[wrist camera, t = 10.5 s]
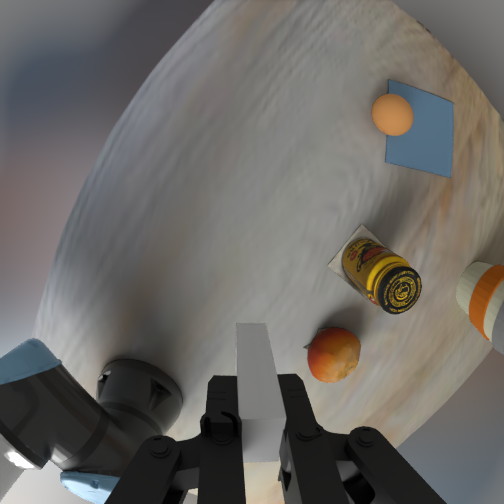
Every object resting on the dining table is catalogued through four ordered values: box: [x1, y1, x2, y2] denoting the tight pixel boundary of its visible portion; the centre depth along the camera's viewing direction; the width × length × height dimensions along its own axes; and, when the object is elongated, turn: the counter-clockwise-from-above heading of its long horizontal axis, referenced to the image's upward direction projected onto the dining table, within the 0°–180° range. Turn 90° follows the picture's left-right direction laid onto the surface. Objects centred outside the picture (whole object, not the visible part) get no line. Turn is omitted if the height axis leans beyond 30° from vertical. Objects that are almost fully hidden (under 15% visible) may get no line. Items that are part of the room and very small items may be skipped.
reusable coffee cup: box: [456, 261, 504, 355], centre depth 33 cm, size 13×12×15 cm
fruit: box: [303, 327, 361, 383], centre depth 39 cm, size 8×8×8 cm
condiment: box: [328, 224, 422, 314], centre depth 33 cm, size 7×8×12 cm
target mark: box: [385, 80, 453, 178], centre depth 33 cm, size 12×12×1 cm
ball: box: [372, 94, 414, 136], centre depth 30 cm, size 6×6×6 cm
